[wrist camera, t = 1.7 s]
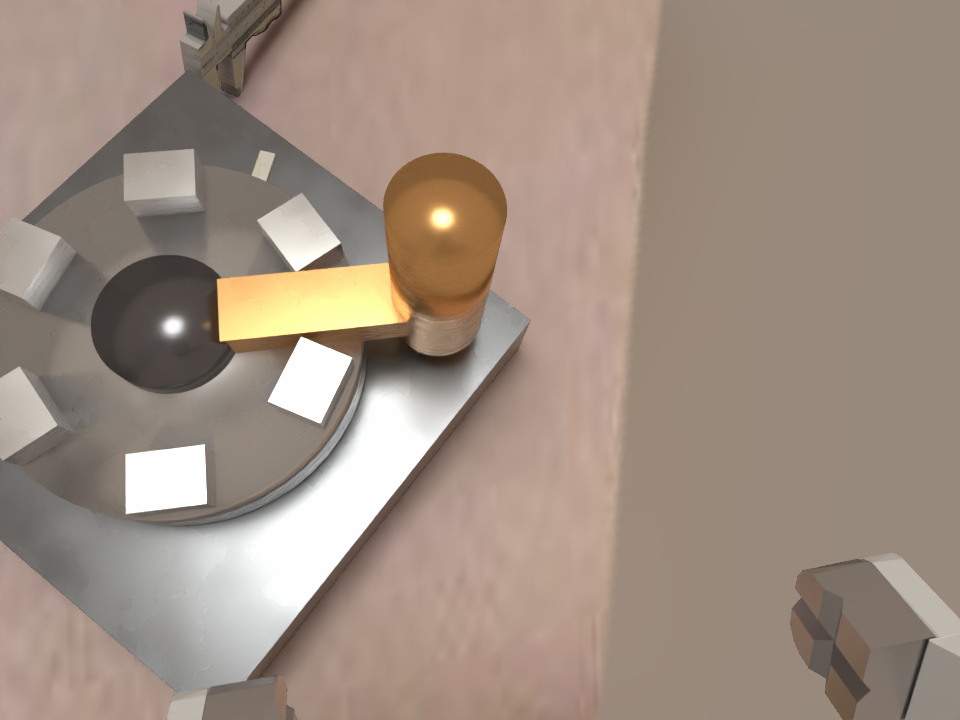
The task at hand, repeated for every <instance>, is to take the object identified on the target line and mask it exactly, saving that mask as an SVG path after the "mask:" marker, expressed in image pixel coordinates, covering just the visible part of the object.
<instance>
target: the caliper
mask: <svg viewBox="0 0 960 720" xmlns="http://www.w3.org/2000/svg"><path fill="white" fill-rule="evenodd" d="M183 13H184V19H185V24H186V29H187V33H186V34H185V35H184V37H183V38H182V39H181V40H180V45H181V51H182V58H183V64H184V70H185V72H186V71H187V70H188V69H190V70H191V71H192V72H194V73H195V74H196V75H198V76H199V77H201V78H202V79H203V80H205V81H206V82H207V83H209V84H210V85H211V86H213V87H214V88H216V89H217V90H218V91H220V92H221V89H222V90H223V91H225V92H227V93H230V94H232V95H234V96H236V97H238V96H239V95H240V93H241V92H242V91H243V82H244V68H245V54H246V43H247V41H248V40H249V39H250V38H251V37H252V36H256V35H258V34H260V33H262V32H264V31H266V29H267V28H268V26H269V25H270V23H271V22H272V21H273V20H275V19H277V18H278V17H279V16H280V15H281V13H282V5H281V0H219V1H218V2H217V3H214V2H212V1H210V0H198V5H197V12H196V15H194V14H191V13H189V12H187V11H183ZM220 81H221V88H220Z"/></svg>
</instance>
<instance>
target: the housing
mask: <svg viewBox="0 0 960 720" xmlns="http://www.w3.org/2000/svg"><path fill="white" fill-rule="evenodd" d="M185 149H194V150H195V152H196V154H197V156H198V158H199V160H200V161H201V163H202V165H204V166H215V167H220V168H225V169H230V170H235V171H239V172H242V173H245V174H248V175H251V176H254V177H257V178H260V179H262V180H264V181H266V182H268V183H270V184H272V185H275V186H277V187H279V188H281V189H282V190H284V191H285V192H287V193H288V194H290V195H291V196H293V197H296V196H297V195H299V194H301V193H302V194H303V195H304V196H305V198H306V199H307V200H308V201H309V203H310V204H311V205H312V206H313V208H314V209H315V210H316V212H317V213H318V214H319V215H320V217H321V218H322V219H323V221H324V222H325V223H326V224H327V226H328V227H329V228H330V230H331V231H332V232H333V233H334V235H335V236H336V237H337V239H338V240H339V241H340V242H341V245H342V249H343V252H344V254H345V256H346V258H347V260H348V262H349V264H350V266H360V265H370V264H381V263H388V253H387V242H386V232H385V222H384V212H383V211H382V210H380V209H379V208H378V207H376V206H375V205H374V204H372V203H371V202H369V201H368V200H367V199H365V198H364V197H363V196H361V195H360V194H359V193H357V192H356V191H354V190H353V189H352V188H350V187H349V186H348V185H346V184H345V183H344V182H342V181H341V180H339V179H338V178H337V177H335V176H334V175H333V174H331V173H330V172H329V171H327V170H326V169H324V168H323V167H322V166H320V165H319V164H318V163H316V162H315V161H314V160H312V159H311V158H310V157H308V156H307V155H305V154H304V153H303V152H301V151H300V150H299V149H297V148H296V147H295V146H293V145H292V144H290V143H289V142H288V141H286V140H285V139H284V138H282V137H281V136H280V135H278V134H277V133H275V132H274V131H273V130H271V129H270V128H269V127H267V126H266V125H265V124H263V123H262V122H260V121H259V120H258V119H256V118H255V117H254V116H252V115H251V114H250V113H248V112H247V111H245V110H244V109H243V108H241V107H240V106H239V105H237V104H236V103H235V102H233V101H232V100H230V99H229V98H228V97H226V96H225V95H224V94H222V93H221V92H220V91H218V90H217V89H216V88H214V87H213V86H211V85H210V84H209V83H207V82H206V81H205V80H203V79H202V78H201V77H199V76H198V75H196V74H195V73H194V72H192V71H191V70H190V69H188V70H187V71H186V72H185V73H184V74H183V75H182V76H181V77H180V78H178V79H177V80H176V81H175V82H174V83H173V84H172V85H171V86H170V87H169V88H167V89H166V90H165V91H164V92H163V93H162V94H161V95H160V96H159V97H158V98H156V99H155V100H154V101H153V102H152V103H151V104H150V105H149V106H148V107H146V108H145V109H144V110H143V111H142V112H141V113H140V114H139V115H138V116H137V117H135V118H134V119H133V120H132V121H131V122H130V123H129V124H128V125H127V126H126V127H124V128H123V129H122V130H121V131H120V132H119V133H118V134H117V135H116V136H115V137H113V138H112V139H111V140H110V141H109V142H108V143H107V144H106V145H105V146H104V147H102V148H101V149H100V150H99V151H98V152H97V153H96V154H95V155H94V156H92V157H91V158H90V159H89V160H88V161H87V162H86V163H85V164H84V165H83V166H81V167H80V168H79V169H78V170H77V171H76V172H75V173H74V174H73V175H72V176H70V177H69V178H68V179H67V180H66V181H65V182H64V183H63V184H62V185H61V186H59V187H58V188H57V189H56V190H55V191H54V192H53V193H52V194H51V195H50V196H48V197H47V198H46V199H45V200H44V201H43V202H42V203H41V204H40V205H38V206H37V207H36V208H35V209H34V210H33V211H32V212H31V213H30V214H29V215H27V216H26V217H25V218H24V219H23V220H22V221H24V222H26V223H28V224H31V225H33V226H35V225H36V224H37V223H38V222H39V221H40V220H41V219H42V218H44V217H45V216H46V215H47V214H49V213H50V212H51V211H52V210H54V209H55V208H56V207H57V206H59V205H60V204H62V203H63V202H65V201H67V200H68V199H70V198H71V197H73V196H74V195H76V194H77V193H79V192H81V191H83V190H85V189H87V188H89V187H91V186H93V185H95V184H97V183H99V182H102V181H105V180H108V179H110V178H113V177H116V176H118V175H121V174H124V154H131V153H145V152H158V151H171V150H185ZM530 321H531V320H530V319H529V318H527V317H526V316H525V315H523V314H522V313H521V312H519V311H518V310H517V309H515V308H514V307H512V306H511V305H510V304H508V303H507V302H506V301H504V300H503V299H502V298H500V297H499V296H497V295H496V294H495V293H493V292H492V291H491V290H489V293H488V298H487V302H486V306H485V310H484V314H483V319H482V323H481V326H480V329H479V332H478V334H477V336H476V337H475V338H474V340H473V341H472V342H471V343H470V344H469V345H468V346H467V347H465V348H464V349H462V350H461V351H459V352H457V353H454V354H451V355H446V356H431V355H426V354H423V353H420V352H418V351H416V350H414V349H413V348H411V347H410V346H409V345H408V344H406V342H405V341H404V340H403V339H402V338H401V337H393V338H383V339H374V340H367V353H368V356H367V366H366V375H365V380H364V384H363V388H362V392H361V396H360V399H359V402H358V404H357V407H356V409H355V412H354V414H353V417H352V419H351V421H350V423H349V424H348V426H347V428H346V430H345V432H344V433H343V435H342V437H341V439H340V440H339V441H338V443H337V444H336V445H335V447H334V448H333V449H332V451H331V452H330V454H329V455H328V456H327V457H326V458H325V459H324V460H323V462H322V463H321V464H320V465H319V466H318V467H317V468H316V469H315V470H314V471H313V472H312V473H311V474H310V475H309V476H307V477H306V478H305V479H304V480H303V481H301V482H300V483H299V484H298V485H296V486H295V487H294V488H293V489H291V490H290V491H288V492H286V493H285V494H283V495H282V496H280V497H279V498H277V499H275V500H274V501H272V502H270V503H268V504H266V505H264V506H262V507H260V508H257V509H255V510H253V511H251V512H248V513H245V514H242V515H239V516H236V517H233V518H230V519H227V520H222V521H217V522H212V523H207V524H200V525H185V526H172V525H156V524H150V523H145V522H140V521H135V520H130V519H125V518H121V517H116V516H111V515H107V514H102V513H98V512H95V511H92V510H89V509H86V508H84V507H81V506H78V505H75V504H73V503H71V502H69V501H67V500H65V499H63V498H61V497H59V496H57V495H55V494H53V493H51V492H50V491H49V490H47V489H46V488H44V487H43V486H42V485H40V484H39V483H38V482H36V481H35V480H33V479H32V478H31V477H30V476H29V475H28V474H27V473H26V472H25V471H24V470H23V469H22V468H20V467H19V466H18V465H15V464H12V463H8V462H5V461H2V459H1V458H0V540H1V541H2V542H3V543H4V544H5V545H6V546H8V547H9V548H10V549H11V550H12V551H13V552H14V553H16V554H17V555H18V556H19V557H20V558H21V559H23V560H24V561H25V562H26V563H27V564H28V565H30V566H31V567H32V568H33V569H34V570H35V571H36V572H38V573H39V574H40V575H41V576H42V577H43V578H45V579H46V580H47V581H48V582H49V583H50V584H52V585H53V586H54V587H55V588H56V589H57V590H58V591H60V592H61V593H62V594H63V595H64V596H65V597H67V598H68V599H69V600H70V601H71V602H72V603H74V604H75V605H76V606H77V607H78V608H79V609H80V610H82V611H83V612H84V613H85V614H86V615H87V616H89V617H90V618H91V619H92V620H93V621H94V622H96V623H97V624H98V625H99V626H100V627H101V628H102V629H104V630H105V631H106V632H107V633H108V634H109V635H111V636H112V637H113V638H114V639H115V640H116V641H118V642H119V643H120V644H121V645H122V646H123V647H125V648H126V649H127V650H128V651H129V652H130V653H131V654H133V655H134V656H135V657H136V658H137V659H138V660H140V661H141V662H142V663H143V664H144V665H145V666H147V667H148V668H149V669H150V670H151V671H152V672H153V673H155V674H156V675H157V676H158V677H159V678H160V679H162V680H163V681H164V682H165V683H166V684H167V685H169V686H170V687H171V688H172V689H173V690H174V691H175V692H177V693H180V692H185V691H191V690H196V689H201V688H207V687H211V686H217V685H223V684H229V683H235V682H241V681H247V680H252V679H258V678H260V676H261V675H262V674H263V672H264V671H265V670H266V669H267V667H268V666H269V665H270V664H271V662H272V661H273V660H274V659H275V657H276V656H277V655H278V653H279V652H280V651H281V650H282V648H283V647H284V646H285V645H286V643H287V642H288V641H289V639H290V638H291V637H292V636H293V634H294V633H295V632H296V631H297V629H298V628H299V627H300V625H301V624H302V623H303V622H304V620H305V619H306V618H307V617H308V615H309V614H310V613H311V611H312V610H313V609H314V608H315V606H316V605H317V604H318V603H319V601H320V600H321V599H322V597H323V596H324V595H325V594H326V592H327V591H328V590H329V589H330V587H331V586H332V585H333V583H334V582H335V581H336V580H337V578H338V577H339V576H340V575H341V573H342V572H343V571H344V570H345V568H346V567H347V566H348V564H349V563H350V562H351V561H352V559H353V558H354V557H355V556H356V554H357V553H358V552H359V550H360V549H361V548H362V547H363V545H364V544H365V543H366V542H367V540H368V539H369V538H370V536H371V535H372V534H373V533H374V531H375V530H376V529H377V528H378V526H379V525H380V524H381V522H382V521H383V520H384V519H385V517H386V516H387V515H388V514H389V512H390V511H391V510H392V508H393V507H394V506H395V505H396V503H397V502H398V501H399V500H400V498H401V497H402V496H403V495H404V493H405V492H406V491H407V489H408V488H409V487H410V486H411V484H412V483H413V482H414V481H415V479H416V478H417V477H418V475H419V474H420V473H421V472H422V470H423V469H424V468H425V467H426V465H427V464H428V463H429V461H430V460H431V459H432V458H433V456H434V455H435V454H436V453H437V451H438V450H439V449H440V447H441V446H442V445H443V444H444V442H445V441H446V440H447V439H448V437H449V436H450V435H451V433H452V432H453V431H454V430H455V428H456V427H457V426H458V425H459V423H460V422H461V421H462V419H463V418H464V417H465V416H466V414H467V413H468V412H469V411H470V409H471V408H472V407H473V406H474V404H475V403H476V402H477V400H478V399H479V398H480V397H481V395H482V394H483V393H484V392H485V390H486V389H487V388H488V386H489V385H490V384H491V383H492V381H493V380H494V379H495V378H496V376H497V375H498V374H499V372H500V371H501V370H502V369H503V367H504V366H505V365H506V364H507V362H508V361H509V360H510V358H511V357H512V356H513V355H514V353H515V352H516V351H517V350H518V348H519V347H520V344H521V342H522V340H523V337H524V335H525V333H526V330H527V328H528V325H529V323H530Z"/></svg>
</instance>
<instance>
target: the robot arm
mask: <svg viewBox="0 0 960 720" xmlns="http://www.w3.org/2000/svg"><path fill="white" fill-rule="evenodd" d="M795 588H796V590H797V591H798V593H799V594H800V596H801V599H800V600H799V601H798V602H797V603H796V604H795V605H794V606H793V608H792V612H791V620H790V625H791V630H792V635H793V639H794V642H795V645H796V647H797V649H798V651H799V654H800V655H801V657H802V659H803V660H804V662H805V663H806V665H807V666H808V668H809V669H811V670H813V671H814V672H816V673H818V674H819V675H821V676H823V677H824V678H826V686H825V694H826V695H827V697H828V698H829V700H830V701H831V703H832V704H833V706H834V707H835V709H836V710H837V712H838V713H839V715H840V716H841V718H842V719H843V720H960V619H959V618H958V617H957V616H956V615H955V614H954V613H953V611H951V609H950V608H949V607H948V606H947V605H946V604H945V603H944V602H943V601H942V600H941V599H940V598H939V597H938V596H937V595H936V594H935V593H934V591H933V590H932V589H931V588H930V587H929V586H928V585H927V584H926V583H925V582H924V581H923V580H922V579H921V578H920V577H919V576H918V575H917V574H916V572H915V571H914V570H913V569H912V568H911V567H910V566H909V565H908V564H907V563H906V562H905V561H904V560H903V559H902V558H901V557H900V556H898V555H896V554H894V553H888V554H883V555H877V556H872V557H867V558H862V559H855V560H850V561H845V562H840V563H835V564H831V565H826V566H821V567H817V568H812V569H807V570H802V572H801V573H800V574H799V575H798V576H797V581H796V587H795ZM166 720H297V717H296V714H295V711H294V709H293V708H291V707H289V706H288V705H287V687H286V684H285V682H284V679H283V676H282V675H276V676H270V677H264V678H258V679H252V680H247V681H241V682H235V683H229V684H223V685H217V686H211V687H207V688H201V689H196V690H191V691H185V692H180V693H176V694H175V696H174V698H173V699H172V701H171V703H170V705H169V709H168V713H167V717H166Z"/></svg>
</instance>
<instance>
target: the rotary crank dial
mask: <svg viewBox="0 0 960 720" xmlns="http://www.w3.org/2000/svg"><path fill="white" fill-rule="evenodd" d="M383 210H384V222H385V232H386V242H387V253H388V263H381V264H370V265H360V266H350V264H349V262H348V260H347V258H346V256H345V254H344V252H343V249H342V245H341V242H340V241H339V240H338V239H337V237H336V236H335V235H334V233H333V232H332V231H331V230H330V228H329V227H328V226H327V224H326V223H325V222H324V221H323V219H322V218H321V217H320V215H319V214H318V213H317V212H316V210H315V209H314V208H313V206H312V205H311V204H310V203H309V201H308V200H307V199H306V198H305V196H304V195H303V194H302V193H301V194H299V195H297V196H296V197H293V196H291V195H290V194H288V193H287V192H285V191H284V190H282V189H281V188H279V187H277V186H275V185H272V184H270V183H268V182H266V181H264V180H262V179H260V178H257V177H254V176H251V175H248V174H245V173H242V172H239V171H235V170H230V169H225V168H220V167H215V166H204V165H202V163H201V161H200V160H199V158H198V156H197V154H196V152H195V150H194V149H185V150H171V151H158V152H145V153H131V154H124V174H121V175H118V176H116V177H113V178H110V179H108V180H105V181H102V182H99V183H97V184H95V185H93V186H91V187H89V188H87V189H85V190H83V191H81V192H79V193H77V194H76V195H74V196H73V197H71V198H70V199H68V200H67V201H65V202H63V203H62V204H60V205H59V206H57V207H56V208H55V209H54V210H52V211H51V212H50V213H49V214H47V215H46V216H45V217H44V218H42V219H41V220H40V221H39V222H38V223H37V224H36V225H35V226H33V225H31V224H28V223H26V222H24V221H21V220H19V219H16V218H14V217H12V218H11V219H10V221H9V222H8V224H7V225H6V227H5V228H4V229H3V231H2V232H1V234H0V458H1V459H2V461H5V462H8V463H12V464H15V465H18V466H19V467H20V468H22V469H23V470H24V471H25V472H26V473H27V474H28V475H29V476H30V477H31V478H32V479H33V480H35V481H36V482H38V483H39V484H40V485H42V486H43V487H44V488H46V489H47V490H49V491H50V492H51V493H53V494H55V495H57V496H59V497H61V498H63V499H65V500H67V501H69V502H71V503H73V504H75V505H78V506H81V507H84V508H86V509H89V510H92V511H95V512H98V513H102V514H107V515H111V516H116V517H121V518H125V519H130V520H135V521H140V522H145V523H150V524H156V525H172V526H185V525H200V524H207V523H212V522H217V521H222V520H227V519H230V518H233V517H236V516H239V515H242V514H245V513H248V512H251V511H253V510H255V509H257V508H260V507H262V506H264V505H266V504H268V503H270V502H272V501H274V500H275V499H277V498H279V497H280V496H282V495H283V494H285V493H286V492H288V491H290V490H291V489H293V488H294V487H295V486H296V485H298V484H299V483H300V482H301V481H303V480H304V479H305V478H306V477H307V476H309V475H310V474H311V473H312V472H313V471H314V470H315V469H316V468H317V467H318V466H319V465H320V464H321V463H322V462H323V460H324V459H325V458H326V457H327V456H328V455H329V454H330V452H331V451H332V449H333V448H334V447H335V445H336V444H337V443H338V441H339V440H340V439H341V437H342V435H343V433H344V432H345V430H346V428H347V426H348V424H349V423H350V421H351V419H352V417H353V414H354V412H355V409H356V407H357V404H358V402H359V399H360V396H361V392H362V388H363V384H364V380H365V375H366V366H367V356H368V353H367V340H374V339H383V338H393V337H401V338H402V339H403V340H404V341H405V342H406V344H408V345H409V346H410V347H411V348H413V349H414V350H416V351H418V352H420V353H423V354H426V355H431V356H446V355H451V354H454V353H457V352H459V351H461V350H462V349H464V348H465V347H467V346H468V345H469V344H470V343H471V342H472V341H473V340H474V338H475V337H476V336H477V334H478V332H479V329H480V326H481V323H482V319H483V314H484V310H485V306H486V302H487V298H488V293H489V289H490V285H491V281H492V277H493V273H494V268H495V264H496V260H497V256H498V252H499V247H500V243H501V239H502V235H503V231H504V226H505V222H506V217H507V203H506V198H505V194H504V192H503V189H502V187H501V185H500V183H499V182H498V180H497V179H496V178H495V176H494V175H493V174H492V173H491V172H490V171H489V170H488V169H487V168H486V167H484V166H483V165H482V164H480V163H478V162H477V161H475V160H473V159H471V158H468V157H465V156H462V155H458V154H453V153H434V154H429V155H425V156H422V157H419V158H416V159H414V160H412V161H411V162H409V163H407V164H406V165H405V166H403V167H402V168H401V169H400V170H399V171H398V172H397V173H396V174H395V175H394V177H393V178H392V180H391V181H390V183H389V185H388V187H387V189H386V192H385V196H384V203H383Z"/></svg>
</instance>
